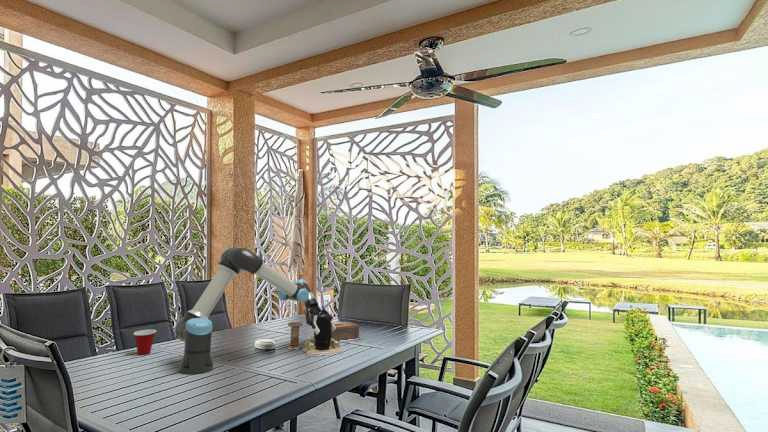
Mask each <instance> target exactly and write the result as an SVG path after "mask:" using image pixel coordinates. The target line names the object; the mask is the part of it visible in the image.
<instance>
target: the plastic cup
mask: <svg viewBox="0 0 768 432" xmlns="http://www.w3.org/2000/svg"><path fill="white" fill-rule="evenodd" d="M156 332H157V330H156V329H153V328H152V329H151V328H149V329H141V330H137V331H135V332H133V335H134V338H135V339H134V340H135V344H136V351H137V355H138V356H145V355H147V356H148V355H149V354H151V350H152V347H153V342H154V339H155V335H156Z"/></svg>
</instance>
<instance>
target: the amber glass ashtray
mask: <svg viewBox="0 0 768 432" xmlns="http://www.w3.org/2000/svg"><path fill="white" fill-rule="evenodd" d="M340 343H341V342H338V341H336V340H334V339H333V338H331V342H330V346H329V349H328V350H327V349H323V350H317V349H316V346H315V339H314V338H310V339H304V341H303V346H302V348H303V349H304V350H305V351H306V352H308V353H309V354H310V355H319V354H332V353H340V352H343V353H344V350H342V349H341V348H340V345H341V344H340ZM302 348H301V349H302ZM304 350H303V351H304ZM305 351H304V352H305ZM306 352H305V353H306Z"/></svg>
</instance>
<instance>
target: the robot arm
mask: <svg viewBox="0 0 768 432" xmlns="http://www.w3.org/2000/svg"><path fill="white" fill-rule="evenodd" d="M217 267H218V270H217V271H216V273H215V274H214V275H213V278H212V279H211V280H210V282H209V283H208V285H207V286H206V288H205V289H204V291H203V293H202V294H201V296H200V297H199V299H198V300H197V301H196V303H195V305H194V307H193V308H192V309H190V310H187V311H186V313H185V315H184V316H183V317H181V318H180V319H178V320H177V322H176V323H175V326H174V334H175V336H176V337H177V339H178V340H180V341H181V342H184V353H183V356H182V359H181V361H180V363H179V367H178V372H179V373H181V374H185V375H194V374H196V375H197V374H203V373H208V372H211V371H212V370H214V367H215V366H214V364H215V362H214V360H213V356H212V338H213V337H212V336H213V322H212V320H210V319H209V316H210V314H211V313H212V311H213V310H214V308H215V306H216V305H217V304H218V302H219V300H220V298H221V297H222V295H223V294H224V292H225V291H226V289H227V287H228V286H229V284H230V283H231V281H232V279H233V278H234V277H236V276H238V275H239V274H240V272H241V271H245V272H247V273H249V274H250V275H256V276H257V277H259V278H261V279H263V280H264V281H265V282H267V283H269V284H270V285H271V286H273V287H274V288H276V289H277V290H278V291H277V295H278V299H279V300H280V301H286V300H287V301H288V300H290V301H295V302H299V303H303V305H304V307H305V309H304V310H303V312H304V316H305V323H306V325H308V326H310V327H312V330H313V332H314V331H315V333H316V334H318V333H319V332H320V331H319V329H318V327H317V325H316V321H315V322H314V319H315V316H317V315H318V314H319V315H322V314H329V315H330V316H331V324H332V327H331V329H332V331H334V330H335V329H336V328H335V326H334V323H335V322H333V319H334V316H333V315H332V314H331V313H329V311H327V309H325V306H323V305H322V306H321V307H320V306H319V302H318V301H317V299H316V297H315V295H314V294H313V291H312V290H311V288H310V286H309V285H308V283H307V281H306V280H305V279H303V278H301V279H300V278H299V279H297V280H296V281H295V282H293V281H292V280H290V279H289V278H288V277H286V276H284V275H283V274H281V273H280V272H279V271H278V270H276V269H274V268H273V267H272V266H270V265H268V264H267V263H266V262H264V259H263V258H261V257H260V256H259V255H258V254H256V253H255V252H254V251H252V250H250V249H249V248H247V247H237V246H232V247H228V248H226V249H225V250H224V251H222V254H221V255H220V261H219V263H218V264H217Z"/></svg>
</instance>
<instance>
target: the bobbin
mask: <svg viewBox="0 0 768 432" xmlns="http://www.w3.org/2000/svg"><path fill="white" fill-rule="evenodd" d="M287 324H288V325H287V326H289V327H290V344H288V345H287V346H286V349H287V348H291V349H295V348H300V347H303V346H302V344H299V343H300V327H303V326H304V325H303V322H300V321H299V322H298V321H291V322H288V323H287ZM291 349H290V350H291Z"/></svg>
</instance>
